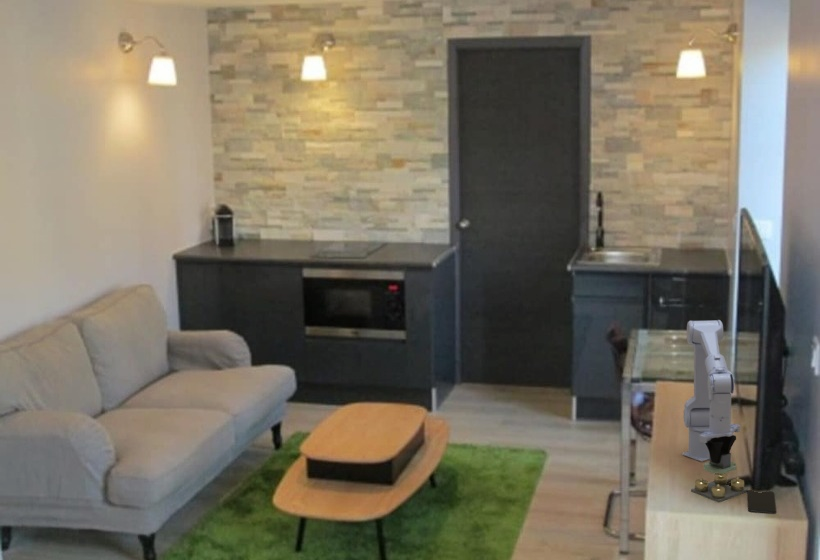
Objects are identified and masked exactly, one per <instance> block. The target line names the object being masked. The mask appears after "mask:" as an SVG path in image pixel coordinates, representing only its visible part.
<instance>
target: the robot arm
mask: <svg viewBox="0 0 820 560" xmlns="http://www.w3.org/2000/svg"><path fill="white" fill-rule="evenodd" d="M723 338H724V325H723V322H722V321H721V320H720V319H717V320H689V321H687V324H686V342H687V344H688V345H690V346H692V347H693V396H692V397H690V398H689V399H687V400H686V401H685V402H684V407H683V408H684V409H683V424H684V426H685V427H686V428H688V450H687V451H685V452H682V456H685V457H686V458H687V457H688V458H690V459H693V460H696V461H698V462H705V461H708V460H709V457H711V461H712V462H713V463H716V464H718V463H719V460H720V451H721V450H723V451H726V452H729V453H731V450H732V447H733V445H734V443H735V442H736V441H737V435H735V434H734V433H739V432H740V433H741V424H737V423H733V424H731V423H732V421H731V420H732V418H731V417H732V416H731V415H732V394H734V392H735V391H734V390H735V380H734V379H735V378H734V376H733V375H734V374H733V373H732V372H731V370H729V369H728V365H727V361H726V358H725V356H724V355H723V354H720V353H721V352H720V346H719V343H721V342H722V340H723Z"/></svg>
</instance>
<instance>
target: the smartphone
mask: <svg viewBox="0 0 820 560" xmlns="http://www.w3.org/2000/svg"><path fill="white" fill-rule="evenodd" d="M752 490H753V489H748V491H747V492H746V496H747V497H746V498H747V512H749V513H756V514H766V515H767V514H769V515H775V514H777V504H776V494H775V492H774V491H771V490H769V492H762V493H758V492H754V491H752Z"/></svg>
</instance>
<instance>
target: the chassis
mask: <svg viewBox="0 0 820 560" xmlns="http://www.w3.org/2000/svg"><path fill="white" fill-rule="evenodd" d="M713 475H714V476H713V477H714V479H713V481H711V482H709V481H708V480H706V479H704V477H700V478H699V479H695V481H694V488H691V489H690V491H691V492H692V493H695V494H697V495H699V496H701V497H702V496H703V497H705V498H707V499H709V500H711V501H715V502H717V503H721V502H724V501H727V500H728V499H729V500H730V499H731V498H735V497H737V496H740V495H741V494H744V493H747V491H748V490H749V489H748V488H746V487H745V480H744V479H741V478H740V477H738V476H736V477H735V478H732V479H731V480H730V483H731V486H729V485H726V484H727V482H728V474H727V473H725V474H722V473H719V472H717V473H714V474H713Z"/></svg>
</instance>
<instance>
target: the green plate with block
mask: <svg viewBox="0 0 820 560" xmlns="http://www.w3.org/2000/svg"><path fill="white" fill-rule="evenodd" d="M731 459H732V453H731V452H730V453H729V452H726V451H723V450H721V451H720V460H719V463H718V464H716V463H713V462H712V461H711V457H709V459H708V460H709V461H708V462H705V463H703V467H704V468H703V471H706V472H708V473H711V474H713V475H714V474H715V473H722V474H727V473H730V472H733V471H735V470H737V466H736V463H735V462H733V461H732V460H731Z"/></svg>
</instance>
